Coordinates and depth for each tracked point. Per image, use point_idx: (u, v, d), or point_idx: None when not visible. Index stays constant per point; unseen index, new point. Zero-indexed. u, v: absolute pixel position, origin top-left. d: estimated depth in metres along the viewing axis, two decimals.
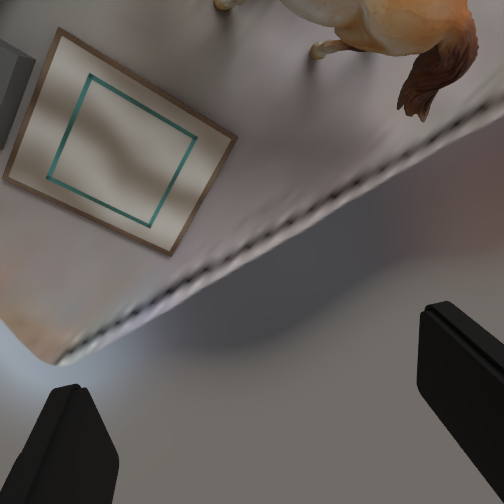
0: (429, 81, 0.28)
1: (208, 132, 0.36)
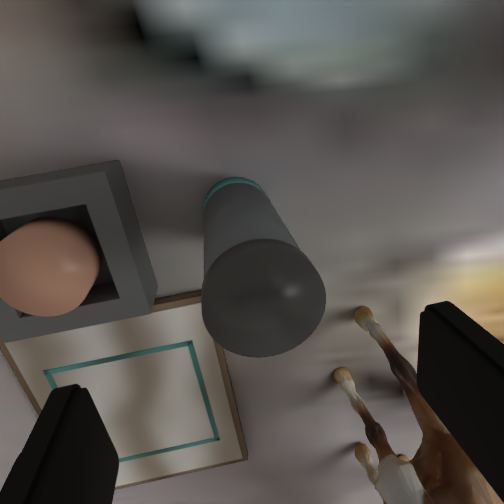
0: None
1: (231, 442, 0.32)
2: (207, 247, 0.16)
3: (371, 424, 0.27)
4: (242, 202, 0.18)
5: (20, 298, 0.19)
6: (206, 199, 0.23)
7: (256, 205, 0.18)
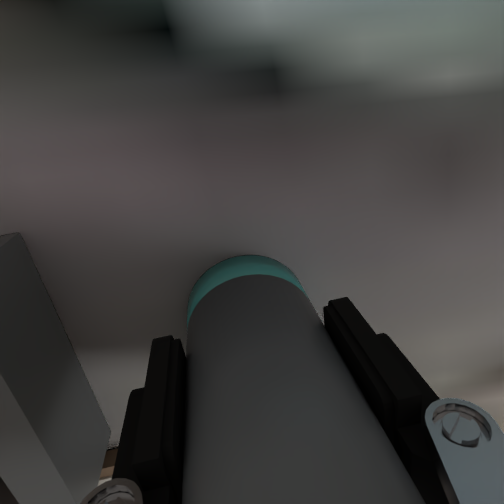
0: None
1: None
2: None
3: None
4: (276, 372, 0.07)
5: None
6: (192, 299, 0.12)
7: (313, 382, 0.07)
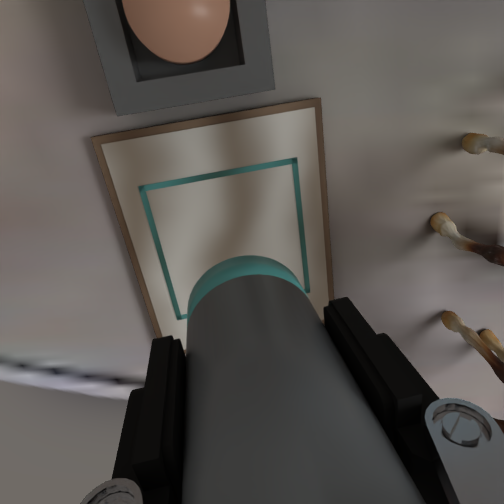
0: None
1: (321, 296, 0.30)
2: None
3: (489, 246, 0.25)
4: (276, 373, 0.07)
5: (152, 31, 0.17)
6: (192, 299, 0.12)
7: (314, 384, 0.07)
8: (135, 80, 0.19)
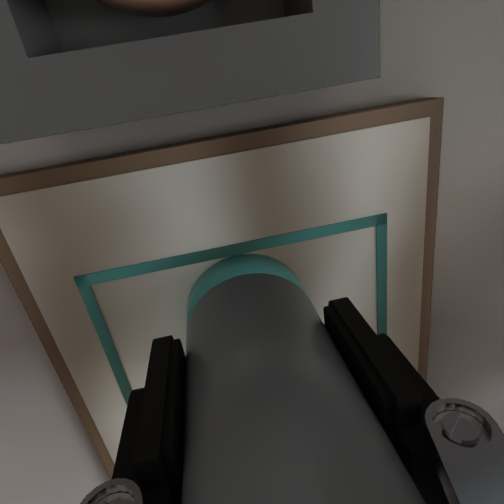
0: None
1: None
2: None
3: None
4: (276, 373, 0.07)
5: None
6: (192, 298, 0.12)
7: (314, 383, 0.07)
8: (25, 53, 0.07)
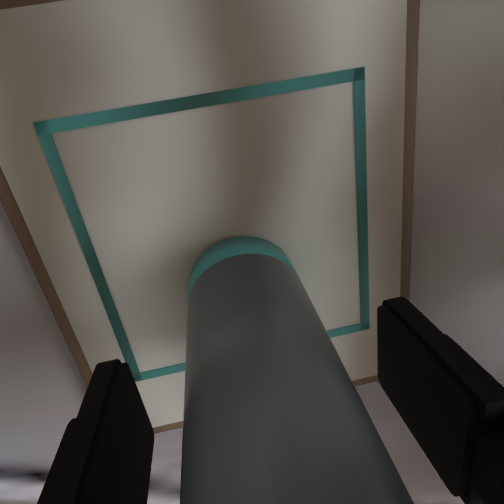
0: None
1: None
2: (187, 484, 0.07)
3: None
4: (263, 335, 0.08)
5: None
6: (193, 275, 0.13)
7: (295, 344, 0.08)
8: None
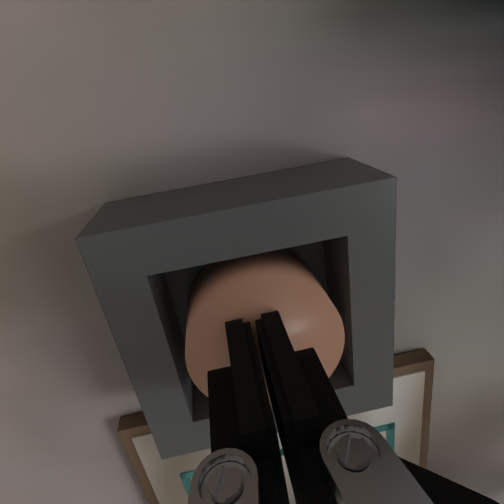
0: None
1: None
2: None
3: None
4: None
5: None
6: None
7: None
8: (191, 419, 0.13)
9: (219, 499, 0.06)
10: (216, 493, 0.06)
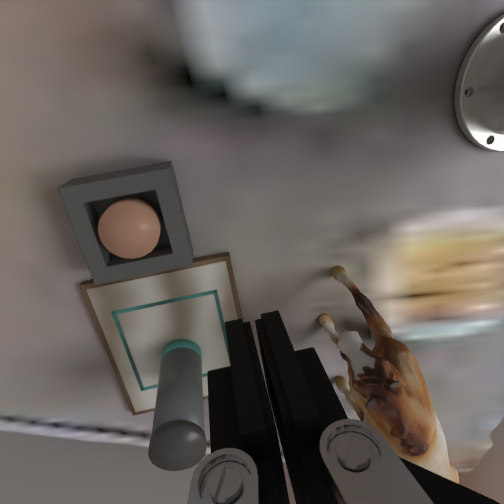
0: None
1: None
2: (155, 410, 0.32)
3: None
4: (176, 377, 0.34)
5: (116, 246, 0.31)
6: (162, 353, 0.39)
7: (183, 379, 0.34)
8: (105, 265, 0.32)
9: (219, 499, 0.06)
10: (216, 493, 0.06)
